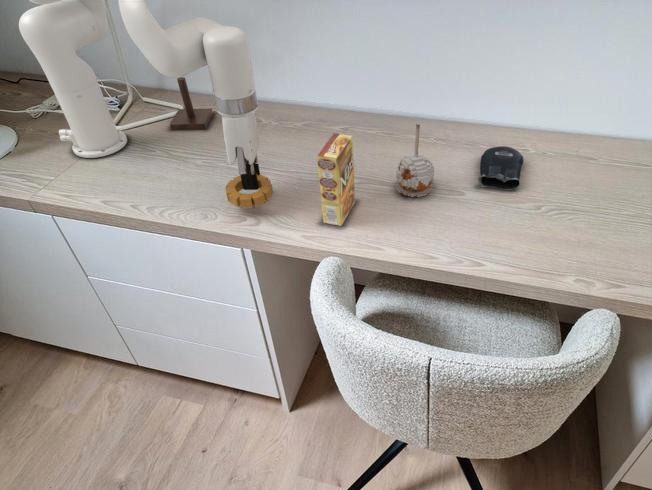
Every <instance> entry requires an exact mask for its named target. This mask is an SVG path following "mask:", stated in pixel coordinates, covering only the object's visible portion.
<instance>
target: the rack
mask: <svg viewBox="0 0 652 490" xmlns="http://www.w3.org/2000/svg"><path fill="white" fill-rule="evenodd" d="M176 80H177V84H178V88H179V92H180V95H181V99H182V103H183V106H184V108H178V110H177V111H176V113H175V115H174V116H173V119H172V120H171V121H170V123H169V126H170V130H171V131H182V130H183V131H187V130H188V131H189V130H207V128H208V125H209V124H210V121H211V119H212V117H213V115H214V112H213V108H194V106H193V103H192V98H191V95H190V91H189V87H188V84H187V80H186V78H185V76H183V77H180V78H176Z"/></svg>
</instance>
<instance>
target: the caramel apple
mask: <svg viewBox="0 0 652 490" xmlns="http://www.w3.org/2000/svg"><path fill="white" fill-rule="evenodd" d="M420 130H421V124H420V122H417V123H416V124H415V134H414V135H415V137H414V152H413V153H409V154H406V155H405V156H404V157H403V158H401V159H400V160H399V162H398V166H397V170H396V171H395V178H396V182H395V189H396V191H397V192H398V193H399V194H403V195H404V196H407V197H411V198H413V197H417V198H420V197H423V196H424V197H425V196H427V195H428V193H429V194H430V193H431V191H432V190H433V188H434V184H433V180H434V179H435V166H434V165H433V162H432V161H431V160H430V159H429V158H428V157H426V156H425V154H421V153H420V152H419V147H420V145H419V144H420V132H421V131H420Z"/></svg>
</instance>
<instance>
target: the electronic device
mask: <svg viewBox="0 0 652 490" xmlns="http://www.w3.org/2000/svg"><path fill="white" fill-rule="evenodd" d="M523 164H524V156H523V154H522V153H521V152H520V151H519V150H517V149H515V148H514V147H510V146H507V145H502V146H501V145H500V146H493V147H489V148H488V149H485V151H484V152H483V153H482V155H481V157H480V163H479V176H478V178H477V181H478V183H479V187H480V188H490V189H499V190H503V191H504V190H505V191H511V190H514V189H516V188H518V187H520V177H521V170H522V166H523Z"/></svg>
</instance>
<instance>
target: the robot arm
mask: <svg viewBox="0 0 652 490" xmlns="http://www.w3.org/2000/svg"><path fill="white" fill-rule="evenodd" d="M28 1H29V2H30V3H33V4H36V5H38V6H35V7H32V8H29V9H28V10H26V11H25V12H23V13H22V15H21V16H20V17H19V20H18V29H19V33H20V35H21V36H22V39H23V40H24V42H25V43H26V45H27V46H28V48H29V50H30V51H31V52H32V54H33V55H34V57H35V59H36V60H37V62H38V64H39V65H40V67H41V69H42V70H43V73H44V75H45V77H46V79H47V81H48V83H49V86H50V87H51V90H52V91H53V93H54V95H55V98H56V100H57V102H58V104H59V107H60V109H61V111H62V113H63V116H64V118H65V120H66V122H67V124H68V126H69V129H68V128H65V129H64V128H63V129H62V128H60V129H59V130H58V135H59V140H60V141H61V142H71V143H72V145H71V149H72V151H73V153H74V155H76V156H78V157H80V158H86V159H95V158H102V157H107V156H110V155H113V154H115V153H117V152H119V151H120V150H122V149H123V148H124V147H125V146H126V145H127V143H128V138H127V135H126V134H125V133H124V132H123V131H122V130H118V129H117V127H116V125H115V122H114V119H113V116H112V114H111V111H110V110H109V106H108V104H107V101H106V99H105V96H104V94H103V91H102V89H101V87H100V84H99V81H98V79H97V76H96V73H95V72H94V69H93V68H92V67H91V66H90V65H89V63H87V62H86V61H85V60H83V59H82V58H81V57H79V56H78V54H77V53H76V52H77V51H80V50H81V49H84V48H86V47H89V46H91V45H93V44H96V43H98V42H100V41H102V40H104V39H105V37H106V36H107V34H108V30H109V22H108V21H109V20H108V15H107V7H106V2H105V0H28ZM117 2H118V8H119V13H120V15H121V19H122V22H123V25H124V27H125V30H126V32H127V34H128V36H129V37H130V39H131V41H132V42H133V43H134V45H135V46H136V47H137V48H138V50H139V51H140V52H141V53H142V55H143V56H144V58H145V59H146V60H147V61H148V62H149V64H150V65H151V66H152V67H153V68H154V69H155V70H156V71H157V72H159V73H160V74H161V75H163V76H164V77H166V78H169V79H177V78H180V77H185V76H188V75H189V74H191V73H193V72H195V71H197V70H199V69H201V68H203V67H207V69H208V73H209V77H210V82H211V88H212V92H213V96H214V101H215V105H216V111H217V113H218V114H219V115H221V123H222V132H223V133H222V134H223V139H224V146H225V151H226V152H225V153H226V158H227V162H228V164H229V166H233V165H235V163H236V161H237V169H238V174H239V176H241V181H242V186H243V189H242V190H244V191H259V185H258V180H257V175H261V171H260V165H259V163H258V154H257V153H258V149H259V144H260V135H259V130H258V129H259V127H258V123H257V118H256V112H257V111H258V109H259V103H258V96H257V90H256V82H255V78H254V70H253V65H252V64H253V63H252V58H251V51H250V46H249V45H250V44H249V39H248V36H247V34H246V32H245V31H244V30H243V29H242V28H239V27H237V26H233V25H223V24H220V23H219V22H217V21H215V20H213V19H211V18H208V17H204V16H197V17H194V18H191V19H188V20H185V21H184V22H180V23H178V24H176V25H175V24H174V25H173V26H170V27H168V28H165V29H163V28H162V27H161V25H160V24H159V23H158V21H157V20H156V19H155V18H154V16H153V15H152V13H151V11H150V9H149V7H148V4H147V2H146V0H117Z"/></svg>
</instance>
